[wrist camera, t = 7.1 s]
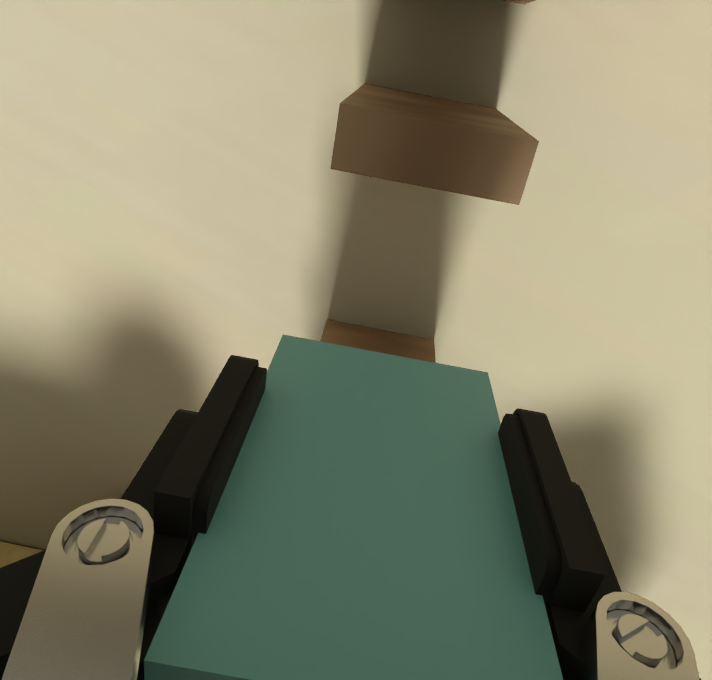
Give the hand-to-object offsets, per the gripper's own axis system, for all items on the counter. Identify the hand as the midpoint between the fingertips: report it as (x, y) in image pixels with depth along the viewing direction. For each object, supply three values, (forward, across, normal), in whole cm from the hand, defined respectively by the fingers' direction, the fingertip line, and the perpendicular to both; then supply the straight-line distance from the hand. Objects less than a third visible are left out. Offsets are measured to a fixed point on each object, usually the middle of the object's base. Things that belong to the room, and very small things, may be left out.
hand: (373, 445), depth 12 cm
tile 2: (+14, 0, -5) cm, 14 cm away
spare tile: (+2, 0, 0) cm, 2 cm away
